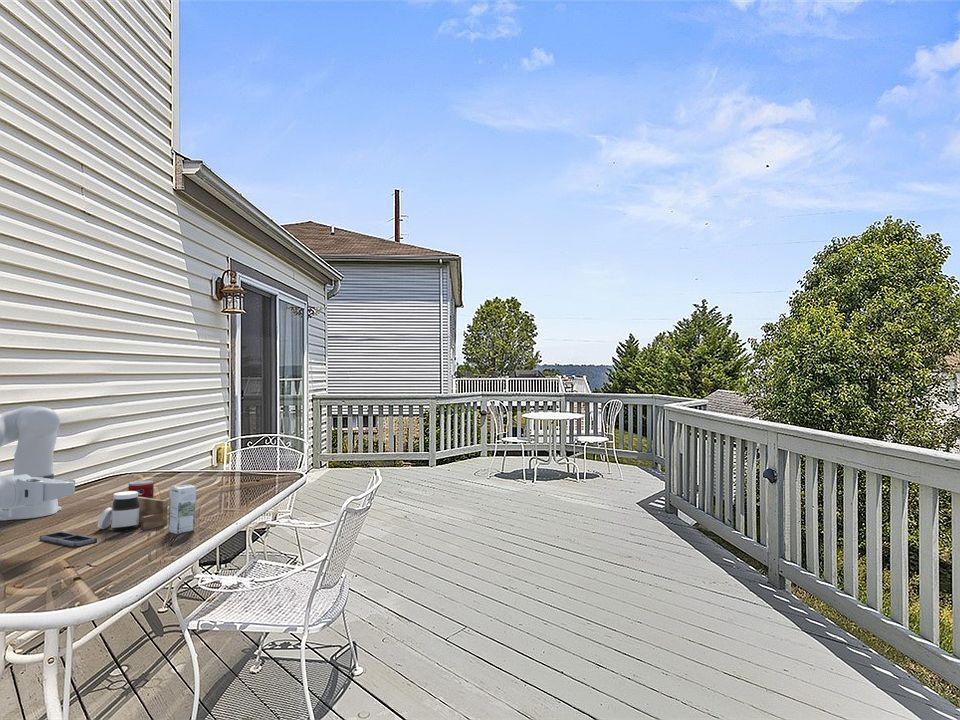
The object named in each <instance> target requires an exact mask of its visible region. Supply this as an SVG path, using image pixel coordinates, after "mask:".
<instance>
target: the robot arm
mask: <svg viewBox="0 0 960 720" xmlns="http://www.w3.org/2000/svg"><path fill="white" fill-rule="evenodd" d="M60 426H61V419H60V416H59V415H58V413H57V412H56V411H55V410H54V409H52V408H50V407H47V406H46V407H44V406H39V405H38V406H37V405H35V406H34V405H27V406H24V407H20V408H16V409H12V410H9V411H4V412H1V413H0V448H1V447H4V446H6V445H9V444H11V443H15V442H17V444H16V445H17V446H16V449H15V452H14V455H13V456H14V457H13V458H14V459H13V460H14V461H13V475H8V476H4V477H0V521H9V520H10V521H12V520H25V519H35V518H41V517H46V516H50V515H51V516H52V515H54V514H56V513H57V512H59V511H61V510H62V506H59V501H58V499H62V498H66V497H69V496H72V495H74V494H75V490H76V487H75V486H76V479H69V478H67V479H56V478H55V474H54V473H53V471H54V470H53V468H54V454H55V453H54V451H55V445H56V443H57V442H56V441H57V438H58V432H59V428H60Z"/></svg>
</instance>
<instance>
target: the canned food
mask: <svg viewBox="0 0 960 720" xmlns="http://www.w3.org/2000/svg"><path fill="white" fill-rule="evenodd" d="M154 487H155V485H154V480H150V479H149V480H148V479H147V480H145V479H143V480H134V481H131V482H128V490H127V491H137V492H138V497H146V498H153V499H154V492H155V491H154V489H155V488H154Z"/></svg>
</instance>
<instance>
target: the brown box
mask: <svg viewBox="0 0 960 720" xmlns="http://www.w3.org/2000/svg"><path fill="white" fill-rule="evenodd" d="M138 499H139V523H140V522H141V527H140V530H142V531H146V530H150V529H153V528H154V529H155V528H158V527H163V526H166V525H168V506H169V505H168V502H169V501H168V499H167V500H166V499H159V498H154V497H153V498H146V497H138Z"/></svg>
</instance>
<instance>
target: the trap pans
mask: <svg viewBox="0 0 960 720" xmlns="http://www.w3.org/2000/svg"><path fill="white" fill-rule="evenodd" d="M39 541H43V542H48V543H52V544H58V545H61V546H67V547H71V548H72V547H73V548H79V547H83V546H86V545H87V546H88V545H91V544H95V543H98V538H97V537H94V536H89V535H88V536H87V535H84V534H77V533H72V532H68V531H61V530H60V531H56V532H52V533H46V534H43V535H39Z"/></svg>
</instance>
